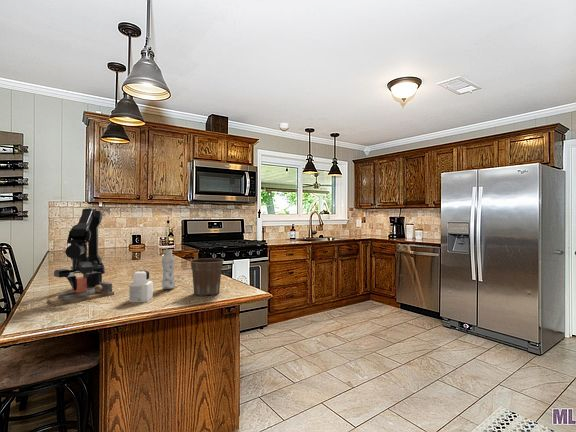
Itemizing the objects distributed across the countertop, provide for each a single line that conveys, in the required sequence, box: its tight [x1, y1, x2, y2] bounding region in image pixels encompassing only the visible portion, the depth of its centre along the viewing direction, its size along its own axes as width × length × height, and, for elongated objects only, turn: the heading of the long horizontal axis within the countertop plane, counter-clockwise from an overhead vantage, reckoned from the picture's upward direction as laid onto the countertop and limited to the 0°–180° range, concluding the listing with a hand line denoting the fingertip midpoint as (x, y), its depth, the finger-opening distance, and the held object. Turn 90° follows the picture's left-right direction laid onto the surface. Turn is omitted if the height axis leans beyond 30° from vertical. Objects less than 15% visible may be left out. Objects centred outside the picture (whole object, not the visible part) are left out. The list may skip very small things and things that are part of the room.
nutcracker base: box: [46, 280, 115, 307], centre depth 153 cm, size 24×10×5 cm, turn 146°
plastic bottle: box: [161, 249, 176, 290], centre depth 172 cm, size 6×7×20 cm
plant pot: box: [189, 257, 225, 297], centre depth 165 cm, size 16×16×16 cm
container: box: [128, 269, 154, 303], centre depth 151 cm, size 8×8×13 cm
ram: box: [72, 276, 95, 295], centre depth 154 cm, size 8×4×8 cm, turn 146°
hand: (79, 289), depth 152 cm, fingers closed on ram, 4 cm apart
